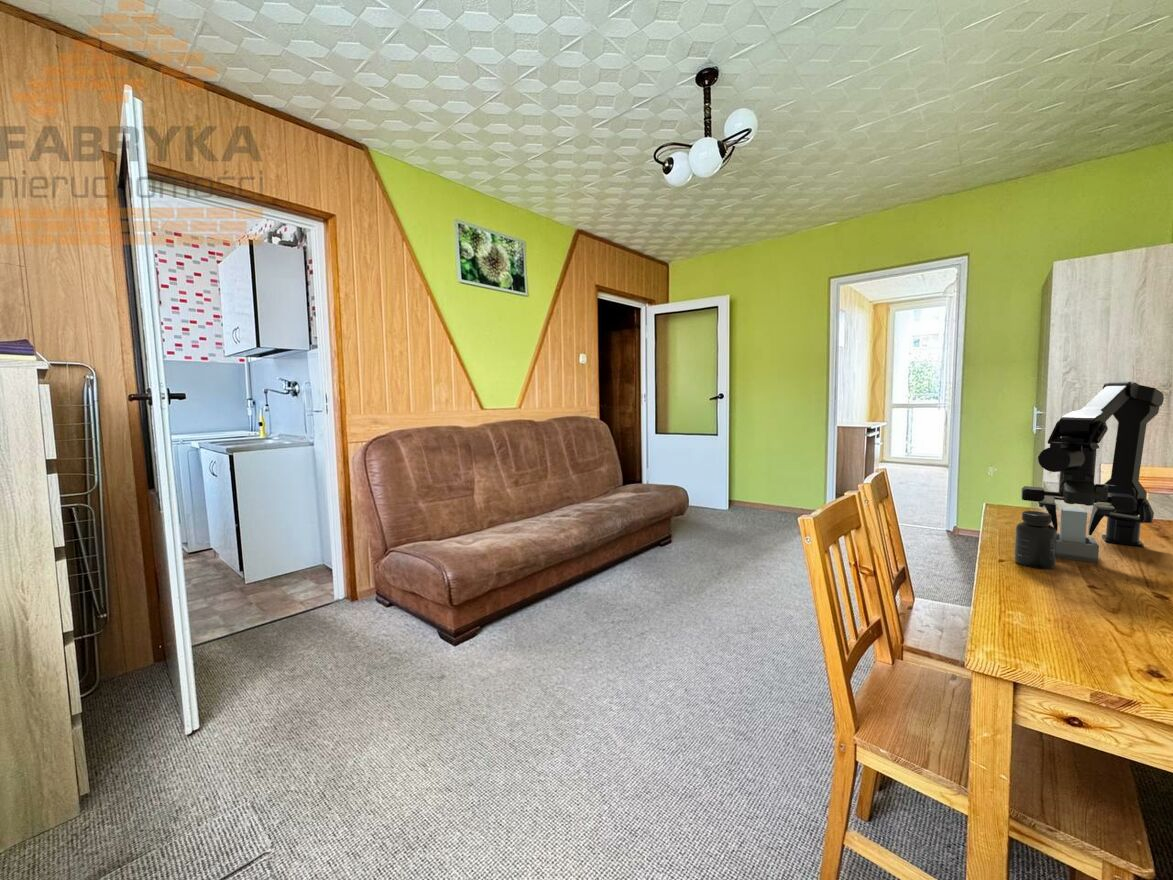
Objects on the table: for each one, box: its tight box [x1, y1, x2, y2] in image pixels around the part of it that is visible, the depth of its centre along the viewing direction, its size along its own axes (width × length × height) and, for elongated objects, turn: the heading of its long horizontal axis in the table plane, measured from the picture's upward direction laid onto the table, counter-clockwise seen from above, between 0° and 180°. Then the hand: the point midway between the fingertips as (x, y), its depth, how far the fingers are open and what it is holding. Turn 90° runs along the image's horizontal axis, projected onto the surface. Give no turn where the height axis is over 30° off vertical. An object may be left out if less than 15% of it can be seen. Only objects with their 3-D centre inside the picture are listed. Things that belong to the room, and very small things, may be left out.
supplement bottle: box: [1014, 510, 1058, 570], centre depth 108 cm, size 7×7×12 cm
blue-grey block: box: [1059, 507, 1088, 543], centre depth 113 cm, size 4×4×10 cm
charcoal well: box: [1056, 533, 1100, 564], centre depth 113 cm, size 8×8×4 cm
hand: (1072, 532), depth 113 cm, fingers open, 5 cm apart
